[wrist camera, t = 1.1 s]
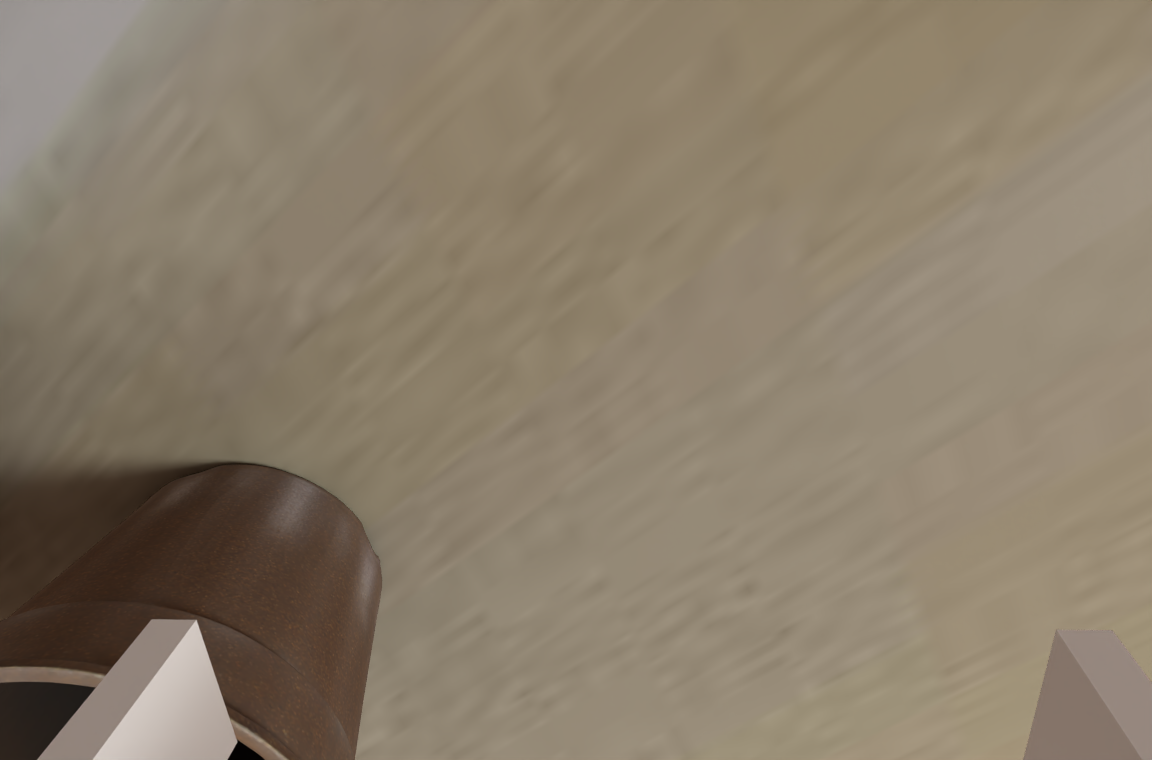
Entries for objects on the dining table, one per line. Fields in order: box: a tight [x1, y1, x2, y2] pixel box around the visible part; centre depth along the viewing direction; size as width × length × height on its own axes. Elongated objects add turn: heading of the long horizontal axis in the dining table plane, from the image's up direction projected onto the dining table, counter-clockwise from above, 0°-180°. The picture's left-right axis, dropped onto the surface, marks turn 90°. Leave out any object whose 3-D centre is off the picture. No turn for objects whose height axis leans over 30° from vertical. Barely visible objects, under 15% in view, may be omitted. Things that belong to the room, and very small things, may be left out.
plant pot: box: [0, 464, 382, 760], centre depth 31 cm, size 16×16×16 cm
